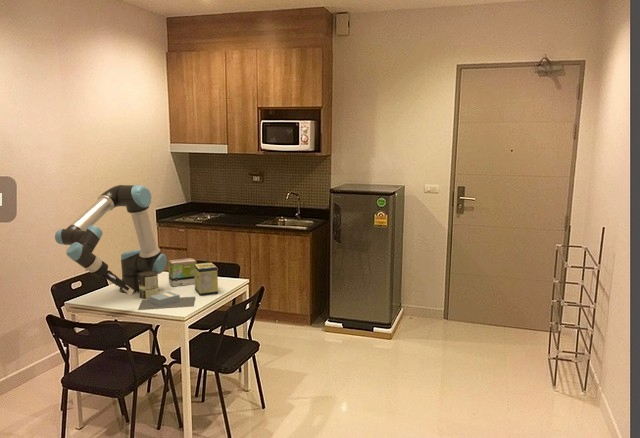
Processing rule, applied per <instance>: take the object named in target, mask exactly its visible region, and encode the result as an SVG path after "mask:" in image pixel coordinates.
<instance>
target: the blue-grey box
mask: <svg viewBox="0 0 640 438" xmlns="http://www.w3.org/2000/svg"><path fill="white" fill-rule="evenodd" d="M180 295H181V294H178V293H175V292H173V291H167V292H162V293H161V292H160V293H158V294H157V295H152V296H150V303H152V304H155V305H157V306H163V305H167V304H171V303H175V302H179V301H180V298H181V296H180Z"/></svg>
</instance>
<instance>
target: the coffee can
mask: <svg viewBox="0 0 640 438" xmlns="http://www.w3.org/2000/svg"><path fill="white" fill-rule="evenodd" d="M158 275H159V274H158V272H157V271H143V272H140V273H138V276H139V292H138V293H139V298H140V299H141V300H149V299H150V296H152V295H157V294H159V278H158V277H159V276H158Z"/></svg>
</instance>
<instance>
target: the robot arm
mask: <svg viewBox="0 0 640 438" xmlns="http://www.w3.org/2000/svg"><path fill="white" fill-rule="evenodd" d="M152 200H153V199H152V193H151V192H150V190H149V189H148V187H146V186H145V185H140V184H136V185H134V184H133V185H132V184H118V185H115V186H114V185H113V187H110V188H109V189H107V190H105V191H104V192H102V193H101V194H100V195H99V196H98V197H97V200H96V201H95V202H94V203H93V204H92V205H91V206H89V208H88V209H86V210H85V211H84V212H83V213H81V215H80V216H79V217H77V218H76V219H75V220H74V221H73V222H72V223H71V224H70V225H68V226H67V227H66V228H61V229H58V230H56V232H55V234H54V240H55V241H56V243H57V244H58V245H65V246H68V248H67V249H66V253H65V254H66V256H67V257H69V259H71V261H73V262H75V263H76V264H78V265H79V266H81V267H82V268H84V269H85V272H89V273H91V275H93V276H95V277H96V278H101V277H102V278H104V279H105V280H107V281H109V282H110V283H112V284H114V285H115V286H117V287H118V288H119V292H120V293H124V294H128V295H130V296H131V295H132V294H133V293H139V276H138V273H140V272H143V271H157V272H158V275H160V274H162V273H164V271H165V269H166V268H167V265H168V258H167V255H166V254H164V253H162V252H161V249H160V247H158V246H157V243H156V240H155V235H154V231H153V228H152V225H151V224H152V223H151V220H150V216H149V213H148V211H149V209H150V205H151V204H152ZM117 207H125V208H126V210H127V213H128V214H131V217H132V218H131V219H132V222H133V223H132V224H133V226H134V231H135V234H136V237H137V240H138V245H139V248H140V249H133V250H128V251H124V252H122V253H121V254H120V263H121V264H120V265H121V275H122V276H121V278H119V277H118V276H117V275H116V274H115V273H113V271H112V270H109V265H108V264H107V263H106V262H105V261H103V260H102V259H101V258H100V257H98V256H97V255H95V254H94V253H93V252H94V250H95V248H96V247H97V245H98V243H99V241H100V240H101V238H102V237H103V230H102V229H101V227H99V226H96V225H95V224H96V223H97V222H98V221H100V220H101V218H102V217H104V216H105V214H107V212H109V211H112V210H114V208H117Z"/></svg>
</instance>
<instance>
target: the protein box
mask: <svg viewBox="0 0 640 438" xmlns="http://www.w3.org/2000/svg"><path fill="white" fill-rule="evenodd" d="M194 277H195V284H194V290H195V291H196V293H197V294H198V296H199V297H203V296H210V295H218V294H219V286H218V284H219V283H218V267H217V266H216V265H215V264H213V263H212V261H211V262H200V263H197V264H194Z"/></svg>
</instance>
